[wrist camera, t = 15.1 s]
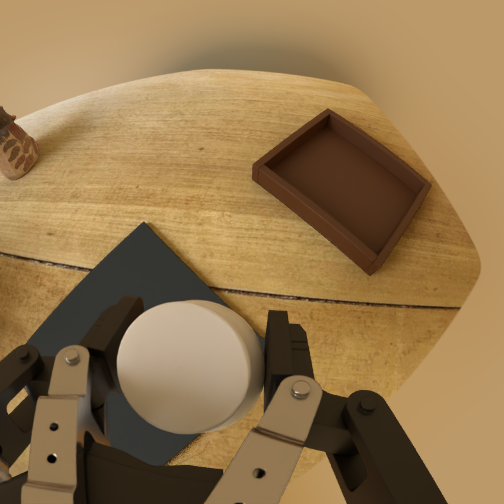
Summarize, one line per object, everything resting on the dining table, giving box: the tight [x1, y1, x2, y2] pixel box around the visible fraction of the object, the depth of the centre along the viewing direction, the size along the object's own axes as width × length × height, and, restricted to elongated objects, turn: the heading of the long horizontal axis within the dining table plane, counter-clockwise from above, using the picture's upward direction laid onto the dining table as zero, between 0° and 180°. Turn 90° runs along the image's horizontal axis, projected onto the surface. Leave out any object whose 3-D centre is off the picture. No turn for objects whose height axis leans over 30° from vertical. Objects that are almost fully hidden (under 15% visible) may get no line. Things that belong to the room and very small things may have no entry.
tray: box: [252, 108, 432, 276], centre depth 29 cm, size 16×14×2 cm
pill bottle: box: [117, 300, 265, 434], centre depth 12 cm, size 5×5×9 cm
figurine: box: [0, 106, 39, 180], centre depth 26 cm, size 7×7×12 cm
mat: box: [26, 222, 265, 466], centre depth 23 cm, size 18×20×1 cm
